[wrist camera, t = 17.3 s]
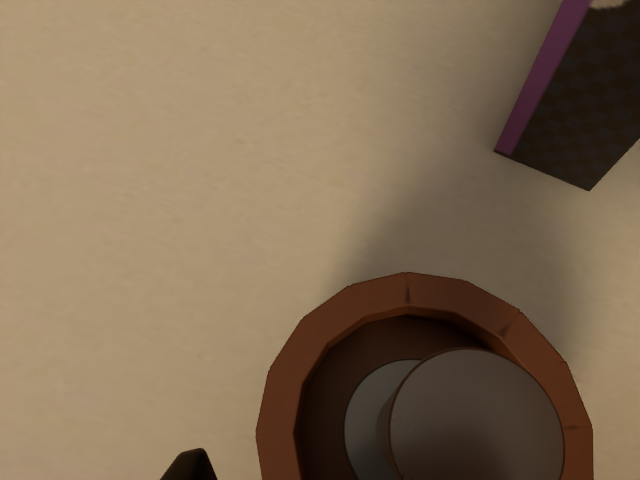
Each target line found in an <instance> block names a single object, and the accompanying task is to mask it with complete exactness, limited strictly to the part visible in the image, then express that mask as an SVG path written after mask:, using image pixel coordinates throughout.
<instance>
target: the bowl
mask: <svg viewBox="0 0 640 480" xmlns="http://www.w3.org/2000/svg"><path fill="white" fill-rule="evenodd" d="M460 347H472V348H481V349H486V350H490V351H493V352H496V353H499V354H501V355H503V356H506V357H508V358H510V359H511V360H513V361H515V362H516V363H518V364H519V365H521V366H522V367H523V368H525V369H526V370H527V371H528V372H530V373H531V374H532V375H533V376H534V377H535V378H536V379H537V380H538V382H539V383H540V384H541V385H542V387H543V388H544V389H545V390H546V392H547V393H548V395H549V397H550V398H551V400H552V402H553V404H554V406H555V408H556V410H557V412H558V415H559V418H560V420H561V423H562V428H563V432H564V438H565V464H564V470H563V474H562V478H561V480H593V429H592V424H591V422H590V419H589V417H588V414H587V412H586V409H585V407H584V404H583V402H582V399H581V397H580V395H579V392H578V390H577V387H576V385H575V382H574V380H573V377H572V375H571V372H570V370H569V367H568V365H567V362H566V361H564V359H563V358H562V356H561V355H560V354H559V353H558V352H557V351H556V350H555V349H554V347H553V346H552V345H551V344H550V343H549V342H548V341H547V340H546V339H545V337H544V336H543V335H542V334H541V333H540V332H539V331H538V330H537V328H536V327H535V326H534V325H533V324H532V323H531V322H530V321H529V319H528V318H527V317H526V316H525V315H524V314H523V313H522V312H520V310H519V309H518V308H516V307H514V306H512V305H510V304H509V303H507V302H505V301H503V300H501V299H499V298H498V297H496V296H494V295H492V294H490V293H488V292H486V291H485V290H483V289H481V288H479V287H477V286H475V285H474V284H472V283H470V282H468V281H464V280H462V279H455V278H448V277H441V276H433V275H426V274H419V273H412V272H406V273H405V272H402V273H398V274H393V275H389V276H385V277H381V278H376V279H372V280H368V281H364V282H360V283H355V284H352V285H350V286H347V287H346V288H344V289H343V290H341V291H340V292H338V293H337V294H336V295H334V296H333V297H331V298H330V299H329V300H327V301H326V302H324V303H323V304H321V305H320V306H319V307H317V308H316V309H314V310H313V311H312V312H310V313H309V314H307V315H306V316H304V317H303V319H302V320H301V321H300V322H299V324H298V325H297V327H296V328H295V330H294V331H293V333H292V334H291V336H290V337H289V339H288V341H287V342H286V344H285V345H284V347H283V348H282V350H281V351H280V353H279V354H278V356H277V357H276V359H275V361H274V362H273V364H272V365H271V367H270V370H269V371H268V375H267V380H266V384H265V389H264V394H263V399H262V403H261V408H260V413H259V418H258V423H257V427H256V442H257V449H258V455H259V462H260V468H261V474H262V480H358V479H357V477H356V475H355V474H354V472H353V470H352V468H351V466H350V464H349V462H348V459H347V456H346V452H345V448H344V442H343V420H344V414H345V410H346V407H347V403H348V401H349V399H350V397H351V394H352V393H353V391H354V390H355V388H356V386H357V385H358V384H359V383H360V382H361V380H362V379H363V378H364V377H365V376H366V375H367V374H369V373H370V372H371V371H373V370H374V369H376V368H377V367H379V366H381V365H383V364H385V363H388V362H391V361H394V360H399V359H409V358H412V359H422V360H424V359H425V358H427V357H429V356H431V355H433V354H435V353H438V352H440V351H443V350H447V349H452V348H460Z"/></svg>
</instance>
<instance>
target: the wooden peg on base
mask: <svg viewBox="0 0 640 480" xmlns="http://www.w3.org/2000/svg"><path fill="white" fill-rule="evenodd" d="M343 442H344V448H345V452H346V456H347V459H348V462H349V464H350V466H351V468H352V470H353V472H354V474H355V475H356V477H357V479H358V480H561V478H562V474H563V470H564V464H565V438H564V432H563V428H562V423H561V420H560V418H559V415H558V412H557V410H556V408H555V406H554V404H553V402H552V400H551V398H550V397H549V395H548V393H547V392H546V390H545V389H544V388H543V387H542V385H541V384H540V383H539V382H538V380H537V379H536V378H535V377H534V376H533V375H532V374H531V373H530V372H528V371H527V370H526V369H525V368H523V367H522V366H521V365H519V364H518V363H516V362H515V361H513V360H511V359H510V358H508V357H506V356H503V355H501V354H499V353H496V352H493V351H490V350H486V349H481V348H472V347H460V348H452V349H447V350H443V351H440V352H438V353H435V354H433V355H431V356H429V357H427V358H425V359H424V360H422V359H412V358H409V359H399V360H394V361H391V362H388V363H385V364H383V365H381V366H379V367H377V368H376V369H374V370H373V371H371V372H370V373H369V374H367V375H366V376H365V377H364V378H363V379H362V380H361V382H360V383H359V384H358V385H357V386H356V388H355V390H354V391H353V393H352V394H351V397H350V399H349V401H348V403H347V407H346V410H345V414H344V420H343Z"/></svg>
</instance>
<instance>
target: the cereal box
mask: <svg viewBox="0 0 640 480" xmlns="http://www.w3.org/2000/svg"><path fill="white" fill-rule="evenodd" d="M639 138H640V0H563V2H562V4H561V6H560V8H559V10H558V12H557V15H556V17H555V19H554V21H553V23H552V25H551V28H550V30H549V32H548V34H547V36H546V38H545V41H544V43H543V45H542V47H541V49H540V51H539V54H538V56H537V58H536V60H535V62H534V64H533V67H532V69H531V71H530V73H529V75H528V77H527V80H526V82H525V84H524V86H523V88H522V90H521V93H520V95H519V97H518V99H517V101H516V103H515V106H514V108H513V110H512V112H511V114H510V116H509V119H508V121H507V123H506V125H505V127H504V129H503V132H502V134H501V136H500V138H499V140H498V142H497V145H496V147H495V149H494V152H496V153H498V154H501V155H503V156H506V157H508V158H510V159H513V160H515V161H518V162H520V163H522V164H525V165H527V166H530V167H532V168H534V169H537V170H539V171H542V172H544V173H546V174H549V175H551V176H554V177H556V178H558V179H561V180H563V181H566V182H568V183H570V184H573V185H575V186H578V187H580V188H583V189H585V190H587V191H590V190H591V189H592V188H593V187H594V186H595V185H596V184H597V183H598V182H599V181H600V180H601V178H602V177H603V176H604V175H605V174H606V173H607V172H608V171H609V170H610V169H611V168H612V167H613V166H614V165H615V164H616V163H617V161H618V160H619V159H620V158H621V157H622V156H623V155H624V154H625V153H626V152H627V151H628V150H629V149H630V148H631V147H632V146H633V144H634V143H635V142H636V141H637V140H638V139H639Z"/></svg>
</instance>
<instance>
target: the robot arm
mask: <svg viewBox="0 0 640 480" xmlns="http://www.w3.org/2000/svg"><path fill="white" fill-rule="evenodd" d="M160 480H217V477H216V475H215V472H214V470H213V467H212V465H211V463H210V460H209V458H208V455H207V453H206V451H205V450H204V449H202V448H197V449H193V450H189V451H184V452H182V453H180V454H179V455H178V456H177V457H176V459H175V460H174V461H173V463H172V464H171V465H170V467H169V468H168V469H167V471H166V472H165V473H164V475H163V476H162V478H161V479H160Z"/></svg>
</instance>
